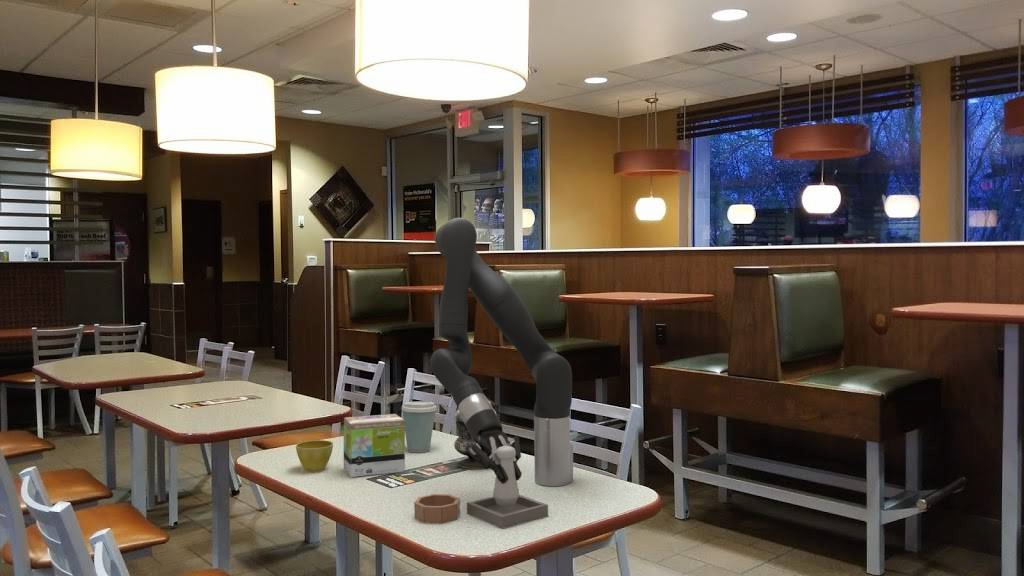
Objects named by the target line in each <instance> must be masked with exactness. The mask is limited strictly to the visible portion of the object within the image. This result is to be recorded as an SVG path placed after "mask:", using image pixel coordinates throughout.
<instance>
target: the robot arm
mask: <svg viewBox="0 0 1024 576" xmlns="http://www.w3.org/2000/svg"><path fill="white" fill-rule="evenodd" d="M477 234H478V233H477V229H476V227H475V225H474V224H473V223H472V221H470V220H469V219H467V218H464V217H455V218H453V219H450V220H448V221H447V222H445V223H444V224H443V225H441V226H440V227H439V228H438V229H437V230H436V232H435V235H434V236H435V237H434V243H435V246H436V248H437V251H438V252H439V253H440V255H441V256H442V257H443V258H444V259H445V260H446V267H445V270H446V271H445V278H444V282H443V283H444V284H443V288H442V292H441V297H440V302H439V310H438V311H439V313H438V335H439V337H440V338H441V339H444V340H446V341H447V342H448V344H449V348H444V347H443V348H439V349H438V348H437V349H436V350H435V351H434V352H433V353H432V354H431V358H430V361H429V362H430V368H431V372H432V374H433V375H434V377H435V378H436V380H437V381H438V382H439V383H440V385H442V387H443V388H444V389H445V391H447V392H448V393H449V394H450V395H451V396H452V399H453V401H454V403H455V405H456V407H457V410H458V409H459V412H460V415H461V418H462V420H463V422H464V424H465V426H466V427H467V429H468V431H469V433H470V435H471V437H472V439H473V441H474V442H475V444H473V445H472V446H471V448H470V449H469V451H468V453H469V454H470V455H471V456H472V457H473V458H474V459H475V460H476V461H477V462H478V463H479V464H480V465H481V466H482V467H483V469H484V470H488V469H490V470H491V471H493V472H494V474H495V477H496V476H497V478H498V480H499V481H500V482H501V483H502V484H504V483H506V482H507V481H508V476H507V474H506V472H505V470H504V468H503V467H502V466H501V465H500V461H499V458H498V457H497V453H496V452H497V449H498V448H499V447H502V446H511V447H513V448H514V449H515V451H516V455H515V457H514V458H513V464H514V469H515V475H516V481H517V482H518V481H520V479H521V477H522V471H521V469H520V467H519V465H518V461H519V460H520V458H521V457H522V452H521V446H520V438H519V437H518V436H514V437H510V436H508V435H507V433H505V432H504V430H503V426H502V423H501V421H500V420H499V417H498V415H496V414H497V412H496V411H495V412H496V413H495V412H494V410H495V409H494V408H493V406H492V404H490V402H491V401H490V400H489V399H488V398H487V397H486V396H485V393H484V391H483V390H482V387H481V386H480V384H479V382H478V381H477V380H476V378H475V377H474V376H473V377H472V376H470V375H469V374H470V371H471V370H472V366H473V355H472V349H471V345H470V340H469V336H468V311H469V307H468V306H469V290H470V292H471V293H472V294H473V296H474V297H475V299H476V300H477V301H478V303H479V304H480V305H481V307H482V309H483V310H484V311H485V313H486V314H487V316H488V317H489V318H490V320H491V322H492V323H493V324H494V325H495V326H496V328H498V330H499V331H500V333H502V334H503V336H504V337H505V338H506V339H507V340H508V341H509V342H510V343H511V344H512V345H513V347H514V348H515V349H516V350H517V352H518V354H520V356H521V358H522V360H523V361H524V363H525V365H526V367H527V368H528V370H529V372H530V374H531V375H532V377H533V379H534V381H535V383H536V384H535V387H536V389H535V391H536V396H535V403H534V405H533V406H534V407H533V423H534V425H533V429H534V434H533V436H534V439H533V440H534V444H533V445H534V482H535V483H536V484H538V485H541V486H546V487H560V486H566V485H568V484H570V483H571V482H572V481H574V445H573V443H571V422H570V420H571V407H572V401H573V398H572V397H573V394H572V393H573V374H572V367H571V364H570V362H568V360H567V359H566V358H564V356H561V355H560V354H558V353H557V352H556V351H555V350H554V349H553V348H552V347H551V345H550V344H549V343H548V342H547V341H546V340H545V338H544V337H543V336H542V335H541V334H540V332H539V330H538V328H537V327H536V324H535V322H534V320H533V317H532V316H531V313H530V312H529V309H528V308H527V306H526V305H525V303H524V301H522V299H521V297H520V296H519V295H518V293H517V291H515V289H514V287H513V286H511V284H510V283H509V282H507V280H506V279H505V278H504V277H502V276H501V275H500V274H498V273H497V272H496V271H494V270H493V269H492V268H491V267H489V266H488V264H486V262H485V261H484V260H483V258H481V256H480V255H479V253H478V251H477V250H476V245H477V239H478V235H477ZM489 401H490V402H489ZM493 409H494V410H493Z"/></svg>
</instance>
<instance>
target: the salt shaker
mask: <svg viewBox="0 0 1024 576" xmlns="http://www.w3.org/2000/svg"><path fill="white" fill-rule="evenodd" d="M496 453H497V457H498V458H499V461H500V465H501V466H502V467H503V468H504V470H505V472H506V474H507V476H508V481H507V482H506V483H504V484H502V483H501V482H500V481H499V480H498V478H497V476H496V475H495V481H494V487H493V492H492V493H493V494H492V495H493V496H494V498H495V501H496V503H497V505H499V506H500V507H511V506H515V504H516V501H517V499H518V497H519V495H520V490H519V486H518V480H517V481H516V475H515V469H514V464H513V458H514V457H515V455H516V451H515V449H514V448H513V447H511V446H509V445H508V446H502V447H499V448H498V449H497V452H496ZM493 496H492V497H493Z"/></svg>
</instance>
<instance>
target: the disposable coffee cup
mask: <svg viewBox="0 0 1024 576" xmlns="http://www.w3.org/2000/svg"><path fill="white" fill-rule="evenodd" d="M401 410H402V419H404V420H405V443H406V448H407V451H408V452H409V453H418V454H420V453H426V452H428V451H429V450H430V448H431V443H432V437H433V431H434V423H435V417H436V412H437V405H436V403H435V402H431V401H408V402H404V403H403V404H402V405H401Z"/></svg>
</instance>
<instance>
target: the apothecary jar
mask: <svg viewBox="0 0 1024 576" xmlns="http://www.w3.org/2000/svg"><path fill="white" fill-rule="evenodd" d="M488 401H489V402H490V404H491V403H492V402H491V400H488ZM491 405H492V404H491ZM493 410H494V412H495V413H496V415H497V412H496V410H495V409H494V408H493ZM497 416H498V415H497ZM454 418H455V420H456V422H458V437H457V438H456V439H455V441H454V443H453V446H454V449H455V450H456V452H457V453H459V454H461V455H462V456H466V457H467V458H465V459H462V460H461V461H459V462H458V463H457V464H458V466H459V468H462V469H467V470H468V469H469V470H483V469H484V468H483V467H482V466H481V465H480V464H479V463H478V462H477V461H476V460H475V459H474V458H473V457H472V456H471V455H470V454H469V453H468V451H469V449H470V448H471V446H472V445H473V444H475V442H474V441H473V439H472V437H471V435H470V433H469V431H468V429H467V427H466V426H465V424H464V422H463V420H462V418H461V415H460V412H459V409H458V408H457V410H456V411H455V413H454Z"/></svg>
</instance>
